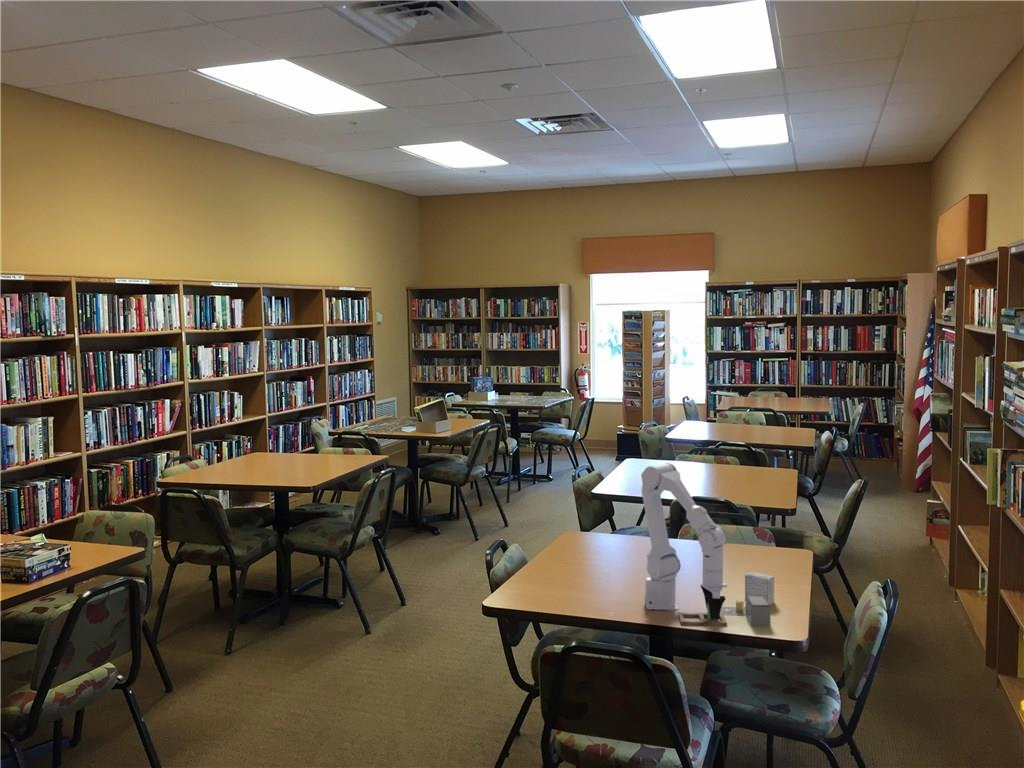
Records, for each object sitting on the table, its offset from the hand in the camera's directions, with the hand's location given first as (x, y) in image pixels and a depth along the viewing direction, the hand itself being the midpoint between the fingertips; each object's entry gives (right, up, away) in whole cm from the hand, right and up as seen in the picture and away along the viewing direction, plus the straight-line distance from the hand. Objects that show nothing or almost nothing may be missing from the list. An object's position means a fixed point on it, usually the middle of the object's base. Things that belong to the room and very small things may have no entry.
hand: (712, 614), depth 234 cm
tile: (+8, -2, +8) cm, 12 cm away
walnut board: (-3, -2, 0) cm, 4 cm away
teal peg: (0, -2, 0) cm, 2 cm away
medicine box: (+19, -1, +16) cm, 25 cm away
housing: (+13, -2, -1) cm, 13 cm away
